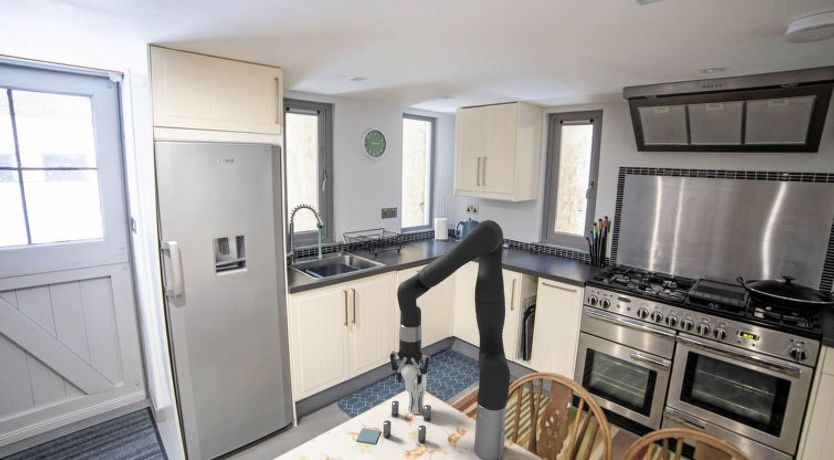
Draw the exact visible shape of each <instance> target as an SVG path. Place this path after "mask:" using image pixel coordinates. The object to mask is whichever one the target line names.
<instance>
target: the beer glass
mask: <svg viewBox="0 0 834 460" xmlns="http://www.w3.org/2000/svg"><path fill="white" fill-rule="evenodd" d="M426 390H427V373H426V374H422V382H421V383H420V384H419V385H417V377H416V378H415V381H414V385H413V391H412V392H407V393H408V397H409V398H408V400H409V402H408V407H407V410H408V412H409V413H410V414H412V415H421V414H424V406H425V405H424V399H425V395H426Z"/></svg>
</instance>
